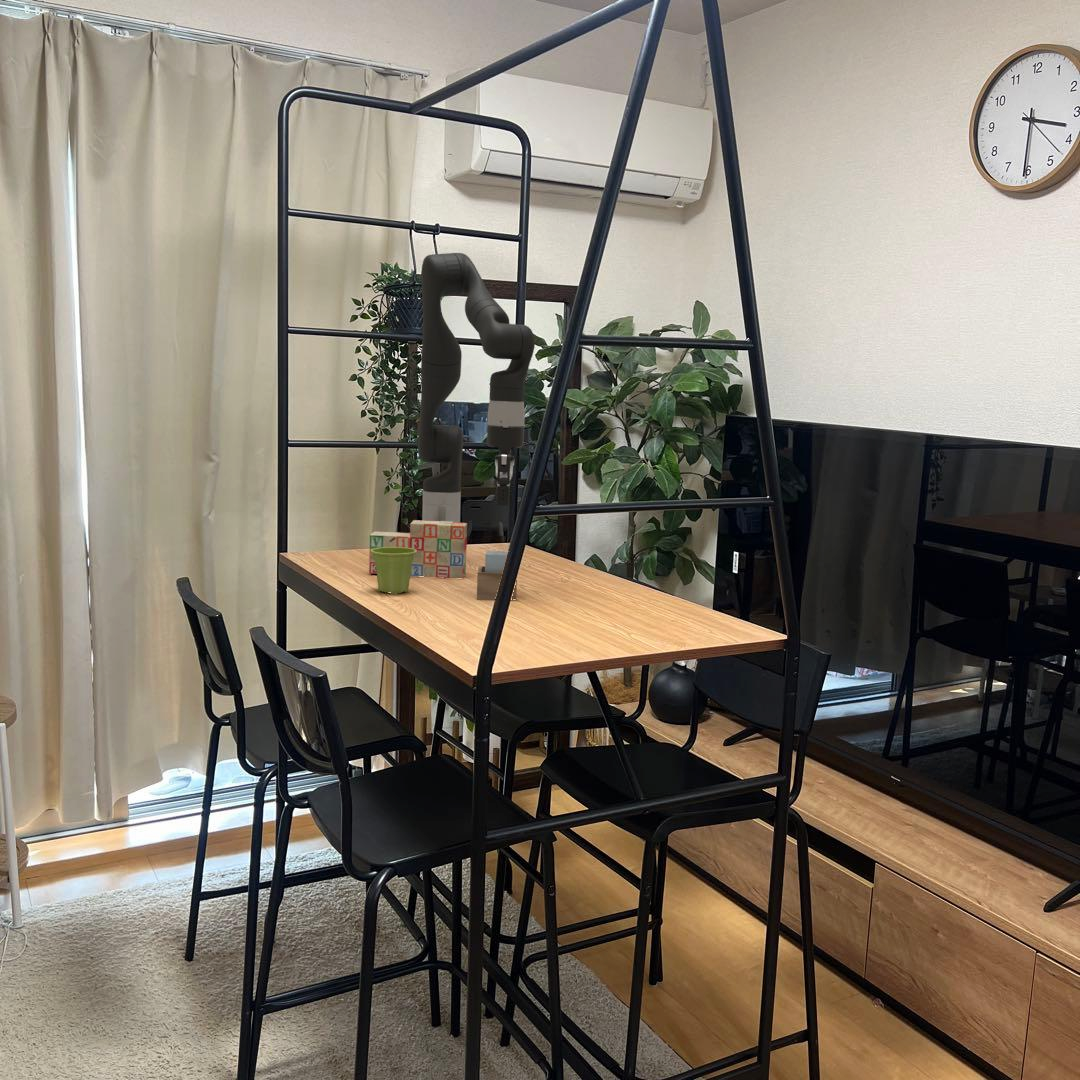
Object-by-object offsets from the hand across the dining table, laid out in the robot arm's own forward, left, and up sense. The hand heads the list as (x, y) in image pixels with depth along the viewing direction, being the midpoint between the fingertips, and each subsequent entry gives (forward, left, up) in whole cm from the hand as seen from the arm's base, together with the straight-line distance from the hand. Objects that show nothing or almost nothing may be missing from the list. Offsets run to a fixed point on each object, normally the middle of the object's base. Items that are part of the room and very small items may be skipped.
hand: (503, 502), depth 216 cm
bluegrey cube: (+2, -1, -15) cm, 15 cm away
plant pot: (+1, -22, -19) cm, 30 cm away
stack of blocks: (-20, -19, -20) cm, 34 cm away
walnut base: (+2, -1, -19) cm, 19 cm away
